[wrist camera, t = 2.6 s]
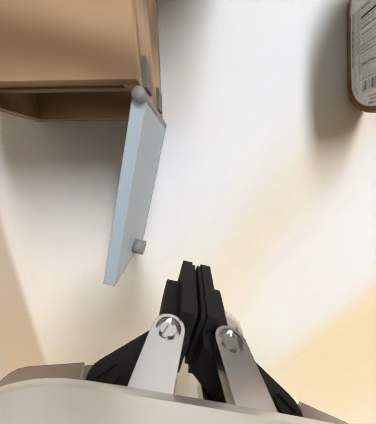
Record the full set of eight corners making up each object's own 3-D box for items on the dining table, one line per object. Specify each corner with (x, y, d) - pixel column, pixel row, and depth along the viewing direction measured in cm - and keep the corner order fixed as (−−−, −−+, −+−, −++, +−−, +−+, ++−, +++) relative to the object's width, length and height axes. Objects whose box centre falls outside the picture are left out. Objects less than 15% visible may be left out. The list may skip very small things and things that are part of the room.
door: (176, 125, 24) (164, 93, 13) (151, 239, 28) (126, 290, 17) (159, 120, 23) (132, 83, 12) (136, 236, 28) (101, 285, 17)
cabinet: (164, 119, 24) (141, 78, 12) (37, 121, 24) (-106, 83, 12) (157, -48, 20) (111, -354, 8) (3, -44, 20) (-263, -339, 8)
